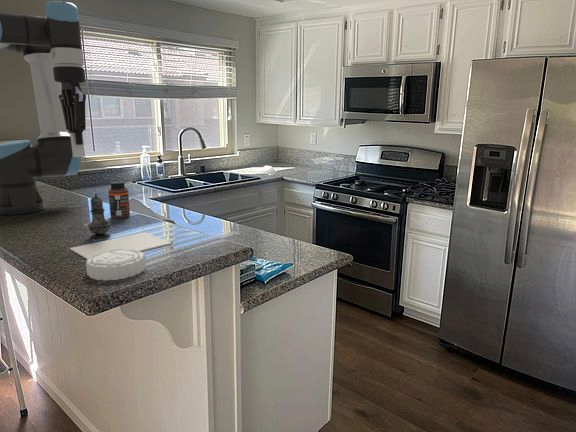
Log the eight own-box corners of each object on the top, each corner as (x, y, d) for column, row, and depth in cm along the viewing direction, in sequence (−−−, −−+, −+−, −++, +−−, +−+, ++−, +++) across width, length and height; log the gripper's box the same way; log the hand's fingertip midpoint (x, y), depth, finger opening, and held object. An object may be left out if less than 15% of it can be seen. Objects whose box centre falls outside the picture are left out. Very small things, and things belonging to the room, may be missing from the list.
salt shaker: (85, 236, 121) (79, 193, 118) (105, 232, 125) (101, 190, 122) (94, 241, 117) (89, 196, 114) (115, 236, 121) (111, 193, 118)
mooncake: (74, 277, 93) (72, 261, 92) (114, 259, 104) (112, 244, 103) (120, 284, 89) (118, 268, 88) (157, 265, 100) (156, 250, 99)
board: (70, 249, 110) (70, 248, 110) (145, 233, 124) (144, 232, 124) (93, 263, 100) (92, 261, 100) (171, 244, 114) (171, 242, 114)
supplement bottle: (123, 219, 140) (120, 184, 137) (106, 218, 141) (103, 183, 138) (133, 215, 145) (130, 180, 143) (117, 214, 146) (114, 180, 144)
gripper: (45, 67, 118) (56, 156, 124) (62, 63, 109) (73, 159, 115) (74, 69, 124) (83, 154, 129) (93, 65, 115) (102, 157, 120)
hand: (79, 156), depth 122 cm, fingers closed
